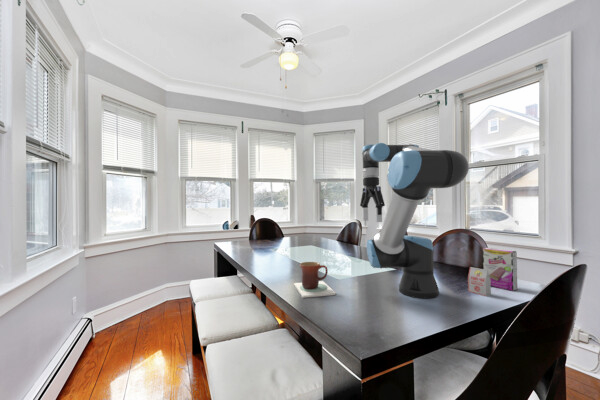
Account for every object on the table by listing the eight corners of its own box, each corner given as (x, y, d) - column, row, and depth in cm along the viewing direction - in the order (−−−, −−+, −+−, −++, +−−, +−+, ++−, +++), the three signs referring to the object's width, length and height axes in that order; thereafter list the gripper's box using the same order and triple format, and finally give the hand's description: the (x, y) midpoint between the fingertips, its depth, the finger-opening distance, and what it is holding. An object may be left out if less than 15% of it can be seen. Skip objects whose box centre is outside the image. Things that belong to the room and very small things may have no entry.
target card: (335, 294, 109) (335, 292, 109) (302, 297, 106) (302, 295, 106) (322, 282, 127) (322, 280, 127) (294, 284, 124) (294, 282, 124)
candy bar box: (483, 285, 119) (481, 248, 119) (487, 283, 121) (486, 247, 122) (513, 291, 109) (512, 251, 110) (518, 289, 112) (516, 250, 113)
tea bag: (473, 290, 112) (472, 266, 112) (490, 294, 106) (490, 269, 106) (468, 291, 110) (467, 267, 111) (485, 296, 104) (485, 270, 105)
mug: (299, 290, 112) (298, 266, 112) (301, 284, 121) (300, 261, 121) (327, 290, 111) (327, 266, 111) (327, 284, 120) (327, 261, 120)
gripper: (353, 179, 140) (354, 220, 140) (376, 174, 116) (377, 222, 115) (366, 180, 142) (367, 219, 141) (392, 174, 117) (393, 222, 117)
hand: (371, 221), depth 128 cm, fingers open, 13 cm apart
